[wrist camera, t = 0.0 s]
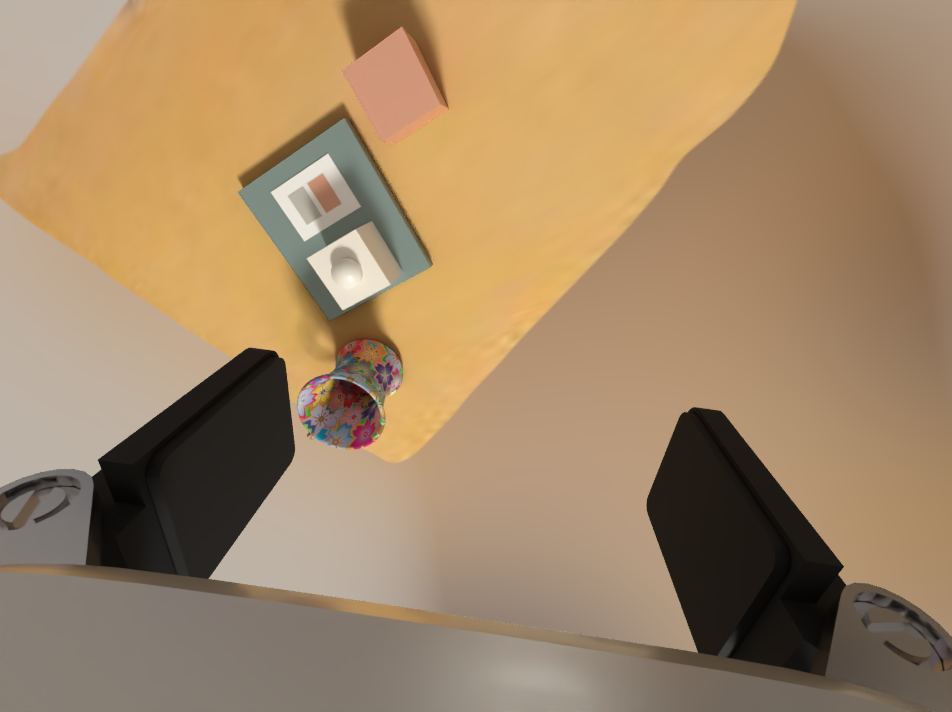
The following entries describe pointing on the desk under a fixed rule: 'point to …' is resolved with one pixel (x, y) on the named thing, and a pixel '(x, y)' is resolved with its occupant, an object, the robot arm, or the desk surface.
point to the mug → (351, 396)
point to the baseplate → (336, 221)
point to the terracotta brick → (395, 87)
